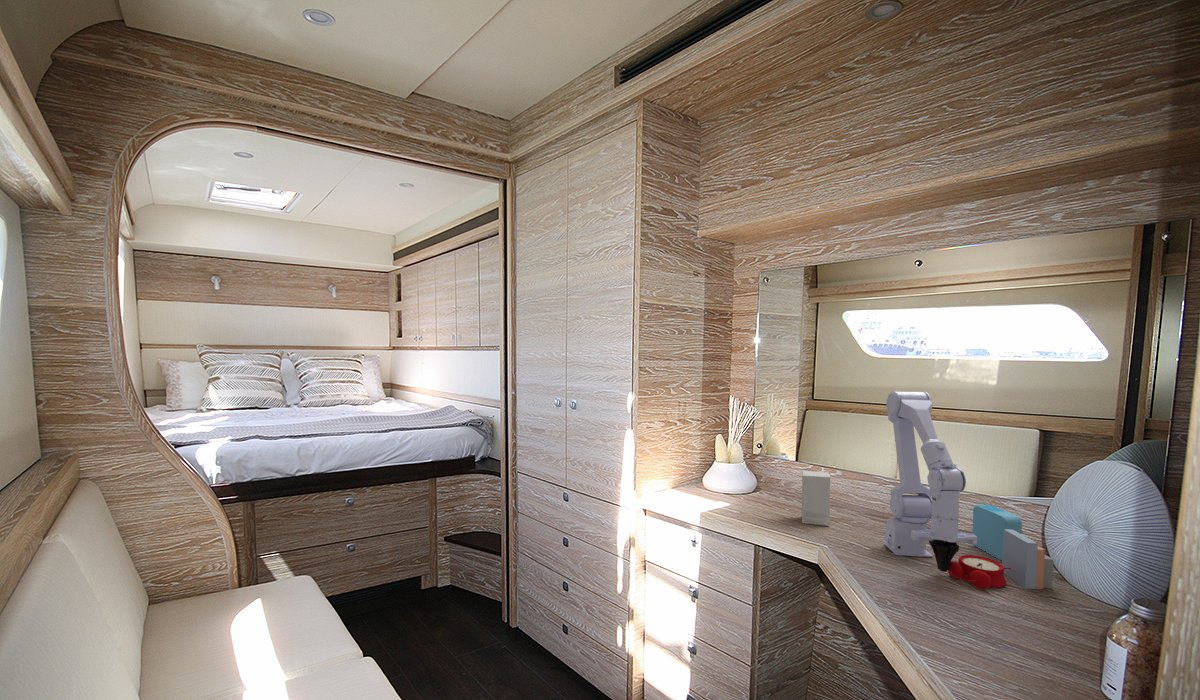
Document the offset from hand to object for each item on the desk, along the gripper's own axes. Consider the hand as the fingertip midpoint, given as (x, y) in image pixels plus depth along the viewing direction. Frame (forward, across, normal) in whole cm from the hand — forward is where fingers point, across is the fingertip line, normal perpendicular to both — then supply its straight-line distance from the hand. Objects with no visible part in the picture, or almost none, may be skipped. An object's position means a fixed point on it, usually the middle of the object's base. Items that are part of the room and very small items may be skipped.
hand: (942, 570), depth 136 cm
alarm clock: (+2, +7, -1) cm, 8 cm away
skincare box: (+2, -21, +35) cm, 41 cm away
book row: (+1, +20, 0) cm, 20 cm away
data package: (+2, +22, +17) cm, 28 cm away
